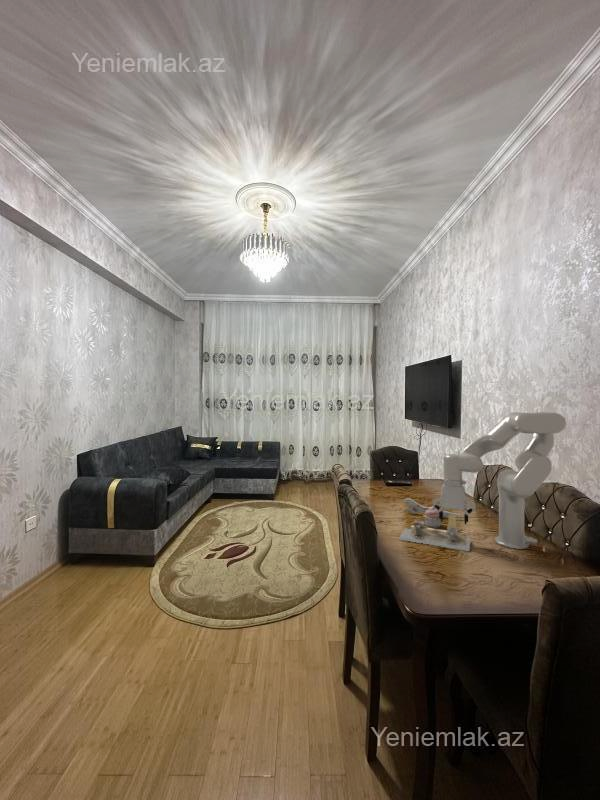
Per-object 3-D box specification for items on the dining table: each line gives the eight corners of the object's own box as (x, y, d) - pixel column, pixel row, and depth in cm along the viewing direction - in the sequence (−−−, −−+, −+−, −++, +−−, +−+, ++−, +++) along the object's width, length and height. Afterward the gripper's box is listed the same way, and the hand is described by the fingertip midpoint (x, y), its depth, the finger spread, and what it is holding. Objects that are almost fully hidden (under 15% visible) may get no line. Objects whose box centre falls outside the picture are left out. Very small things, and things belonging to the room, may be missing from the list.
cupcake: (439, 530, 173) (439, 509, 173) (420, 526, 179) (420, 506, 179) (445, 525, 180) (445, 505, 181) (426, 521, 186) (426, 502, 186)
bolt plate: (470, 541, 159) (470, 538, 159) (469, 551, 149) (469, 547, 149) (404, 531, 172) (404, 527, 172) (399, 539, 161) (399, 536, 161)
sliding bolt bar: (466, 538, 159) (466, 527, 159) (465, 543, 153) (465, 532, 153) (411, 530, 169) (412, 519, 169) (409, 534, 164) (409, 523, 164)
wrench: (460, 526, 189) (401, 512, 201) (460, 525, 190) (402, 511, 202) (462, 511, 188) (403, 497, 200) (462, 510, 190) (403, 497, 202)
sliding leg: (457, 536, 161) (457, 515, 161) (456, 541, 155) (456, 519, 155) (447, 534, 162) (447, 513, 162) (446, 539, 157) (446, 517, 157)
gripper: (474, 482, 160) (475, 522, 159) (433, 479, 167) (433, 516, 167) (474, 486, 153) (475, 527, 153) (431, 482, 161) (431, 521, 160)
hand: (453, 521), depth 160 cm, fingers open, 9 cm apart
